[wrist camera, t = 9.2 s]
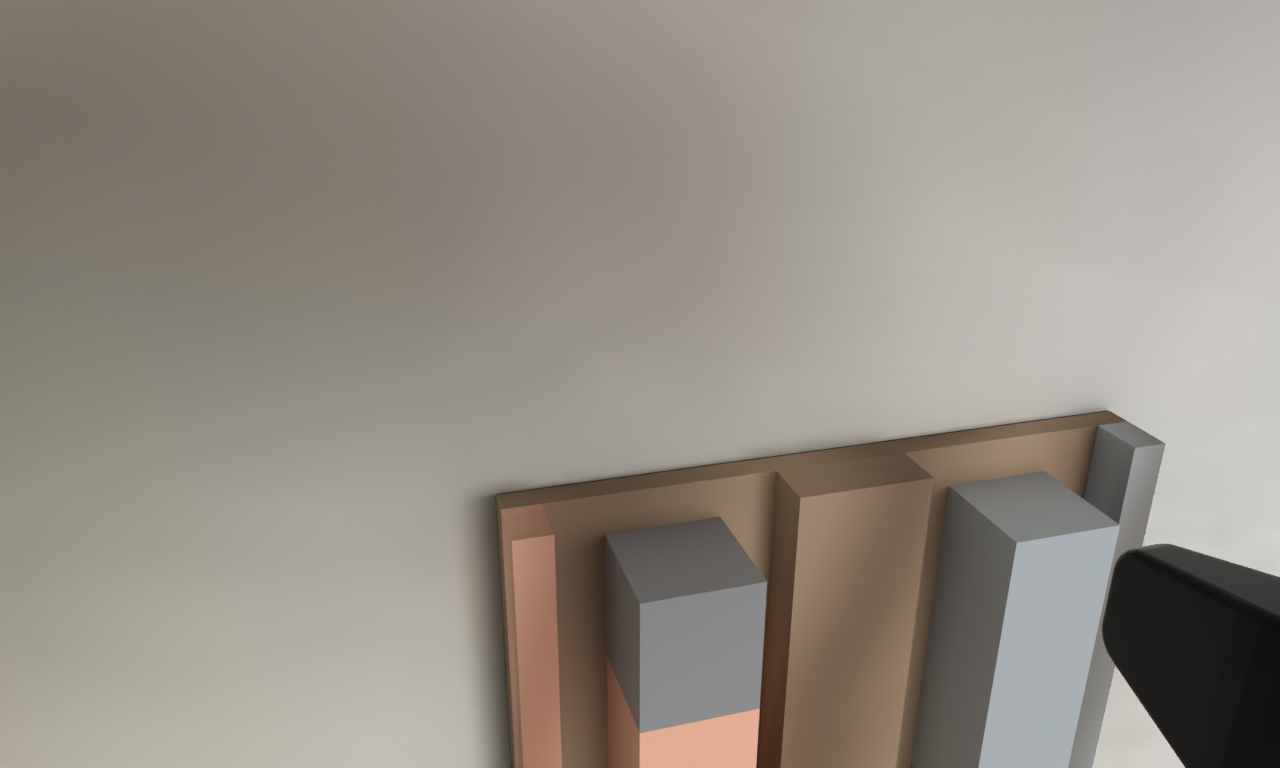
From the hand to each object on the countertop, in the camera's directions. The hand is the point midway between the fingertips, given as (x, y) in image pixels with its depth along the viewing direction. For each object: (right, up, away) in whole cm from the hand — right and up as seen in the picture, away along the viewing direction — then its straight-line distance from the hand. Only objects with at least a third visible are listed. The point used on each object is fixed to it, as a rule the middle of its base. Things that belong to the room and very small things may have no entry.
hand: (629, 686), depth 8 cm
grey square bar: (+8, -5, +18) cm, 20 cm away
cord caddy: (+4, -5, +17) cm, 18 cm away
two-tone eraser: (+1, -6, +16) cm, 17 cm away
